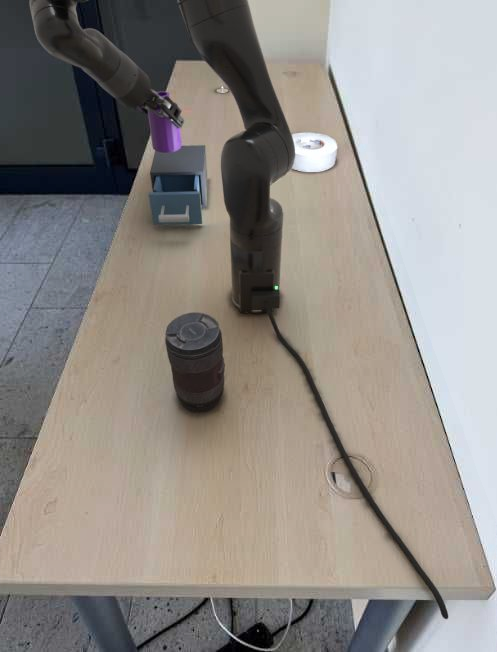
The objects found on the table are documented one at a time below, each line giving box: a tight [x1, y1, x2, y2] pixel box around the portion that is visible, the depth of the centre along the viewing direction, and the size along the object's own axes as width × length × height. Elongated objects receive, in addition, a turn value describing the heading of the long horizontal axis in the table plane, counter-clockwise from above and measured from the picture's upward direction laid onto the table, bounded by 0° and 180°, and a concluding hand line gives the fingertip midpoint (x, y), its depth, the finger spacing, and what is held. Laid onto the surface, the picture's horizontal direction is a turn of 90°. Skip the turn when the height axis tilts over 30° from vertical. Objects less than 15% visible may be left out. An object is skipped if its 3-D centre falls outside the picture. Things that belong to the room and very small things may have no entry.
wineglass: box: [216, 78, 229, 94], centre depth 177 cm, size 6×6×12 cm
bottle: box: [147, 90, 182, 153], centre depth 107 cm, size 6×6×12 cm
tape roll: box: [291, 131, 338, 173], centre depth 138 cm, size 15×15×5 cm
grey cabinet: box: [149, 144, 209, 209], centre depth 122 cm, size 15×13×10 cm
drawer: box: [148, 175, 203, 226], centre depth 113 cm, size 20×11×8 cm, turn 2°
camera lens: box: [164, 312, 226, 414], centre depth 73 cm, size 8×8×15 cm
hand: (169, 120), depth 108 cm, fingers closed on bottle, 6 cm apart
